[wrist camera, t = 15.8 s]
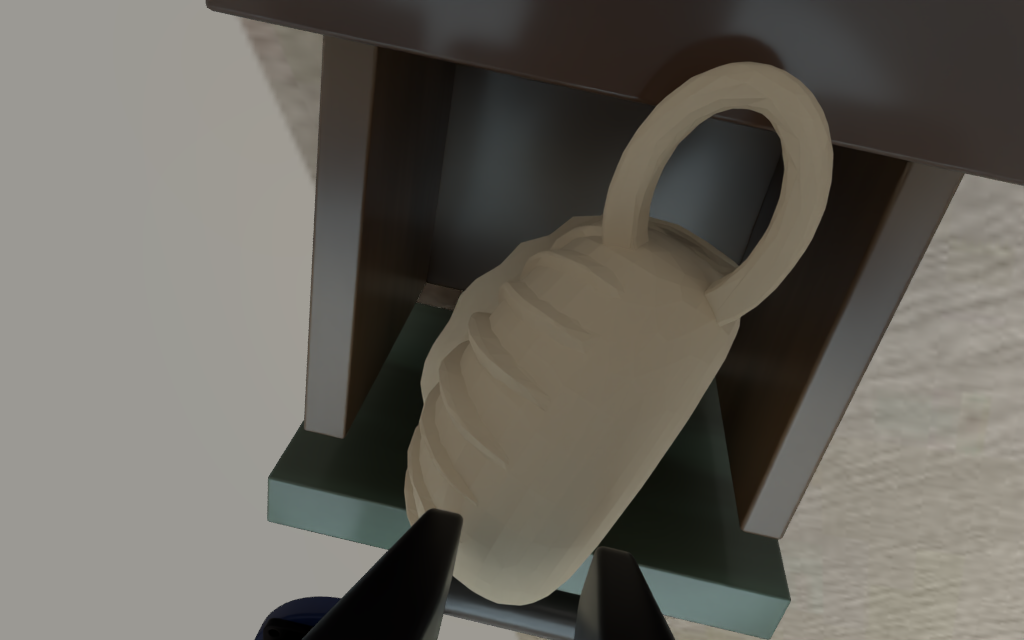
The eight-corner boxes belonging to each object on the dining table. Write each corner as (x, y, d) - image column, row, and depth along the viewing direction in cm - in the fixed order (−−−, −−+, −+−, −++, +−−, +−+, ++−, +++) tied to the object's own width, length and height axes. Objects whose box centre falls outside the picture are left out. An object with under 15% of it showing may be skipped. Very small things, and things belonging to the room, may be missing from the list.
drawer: (681, 528, 24) (698, 773, 17) (364, 454, 24) (263, 667, 18) (924, -77, 15) (1146, -50, 9) (429, -180, 16) (280, -228, 9)
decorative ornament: (351, 460, 14) (272, 628, 9) (620, 72, 13) (713, 2, 8) (531, 574, 15) (558, 795, 9) (805, 210, 14) (1007, 232, 8)
